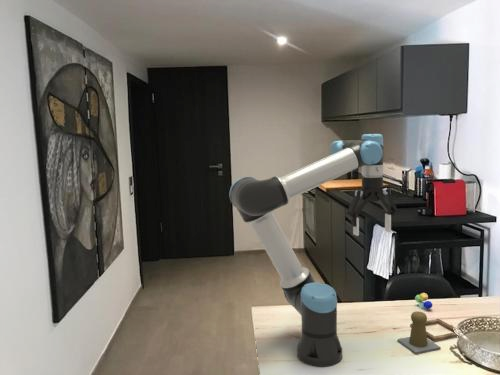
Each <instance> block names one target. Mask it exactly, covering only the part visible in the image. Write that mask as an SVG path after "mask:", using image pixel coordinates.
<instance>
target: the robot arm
mask: <svg viewBox="0 0 500 375" xmlns="http://www.w3.org/2000/svg"><path fill="white" fill-rule="evenodd" d="M358 168H361V176H362V177H361V188H362V189H361V190H357V189H356V190H354V192H353V197H352V199H351V203H350V205H349V206H348V209H347V211H346V215H345V216H348V217H350V220H351V224H350V225H351V226H352V234H353V236H356V237H358V236H359V235H360V218H359V217H358V216H359V215H360V213H361V212H362V211H363V209H364V208H365V206H366V205H367V204H369V203H373V202H375V203H376V202H377V203H379V205H381V207H382V209H383V210H384V211H385V212H386V213H385V214H384V231H385V232H387V233H391V232H392V223H394V222H393V218H394V216H395V214H396V213H398V212H399V210H398V208H397V206H396V204H395V201H394V199H393V196H392V194H391V189H390V188H387V187H384V177H383V175H384V137H383V135H382V134H380V133H368V134H367V133H364V134H362V135H361V139H357V140H355V139H354V140H350V139H348V140H346V139H345V140H342V139H341V140H335V141H332V143H331V145H330V148H329V155H327V156H325V157H324V158H321V159H318V160H317V161H314V162H312V163H310V164H308V165H305V166H303V167H301V168H297V170H293V171H292V172H290V173H287V174H284V175H283V176H281V177H280V176H276V175H275V176H272V177H270V178H268V179H264V180H263V179H261V180H259V179H256V178H255V177H251V176H243V177H240V178H238V179H236V180H235V181H234V182H233V183H232V184H231V186H230V189H229V193H228V194H229V196H228V197H229V200H230V203H231V204H232V205H233V207H234V208H236V210H237V211H238V213H239V215H240V217H241V219H242V220H243V222H244V223H246V224H250V225H251V227H252V229H253V231H254V232H255V234H256V236H257V238H258V240H259V241H260V243H261V245H262V246H263V248H264V251H265V252H266V254H267V255H268V257H269V259H270V261H271V263H272V265H273V267H274V269H276V271H277V273H278V275H279V277H280V282H279V285H280V287H281V290H282V291H283V294H284V298H285V300H286V301H287V303H288V304H290V305H291V306H292V307H293V308H294V309H295V311H297V313H299V315H300V316H301V317H300V318H301V334H300V337H299V339H298V342H297V343H298V344H297V347H296V356H297V359H299V360H300V361H301V362H303V363H304V364H306V365H309V366H313V367H329V366H334V365H336V364H338V363H340V361H342V359H343V348H342V345H341V341H340V339H339V336H338V331H337V330H338V328H337V327H338V323H337V322H338V318H337V317H338V314H337V313H338V298H337V297H338V296H337V293H336V290H335V289H334V287H332V286H330V285H329V284H326V283H325V284H324V282H318V281H317V282H316V281H315V279H314V277H313V276H312V273H311V272H310V270H309V269H308V268H307V267H304V266H302V264H301V263H300V260H299V259H298V256H297V255H296V253H295V250H293V247H292V245H291V244H290V241H289V239H288V238H287V236H286V235H285V233H284V231H283V229H282V227H281V225H280V224H279V222H278V220H277V217H275V215H274V212H273V211H275V210H277V209H279V208H282V207H284V206H286V205H288V204H289V202H290V201H291V199H293V198H296V197H298V196H300V195H303V194H305V193H306V192H309V191H311V190H313V189H315V188H318V187H320V186H322V185H325V183H328V182H331V181H333V180H335V179H337V178H339V177H342V176H343V175H346V174H348V173H350V172H352V171H354V170H356V169H358ZM383 187H384V188H383ZM382 195H384V197H383V196H382ZM384 198H385V199H384ZM385 200H386V201H385Z"/></svg>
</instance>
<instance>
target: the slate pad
mask: <svg viewBox="0 0 500 375" xmlns="http://www.w3.org/2000/svg"><path fill="white" fill-rule="evenodd" d="M396 339H397V342H398V343H399V344H400V345H401V346H403V347H404V348H406V349H407V350H409V351H410V352H411V353H413V354H414V355H420V354H425V353H430V352H434V351H440V350H442V349H441V346H439V345H438V344H437V343H435V342H433V341H431V340H430V339H428V338H427V342H428V345H427V346H426V347H415V346H413V345H411V344H410V343H409V340H410V336H407V337H403V338H402V337H401V338H396Z"/></svg>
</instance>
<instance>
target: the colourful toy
mask: <svg viewBox="0 0 500 375" xmlns="http://www.w3.org/2000/svg"><path fill="white" fill-rule="evenodd" d="M428 299H429V295H428V294H427V293H425V292H422V293H420V294H416V296H415V297H414V300H415V302H416V303H418V307H419V308H420V309H422V310H426V309H428V310H429V309H432V307H433V303H432V302H431V301H429V300H428Z"/></svg>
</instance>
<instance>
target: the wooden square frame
mask: <svg viewBox="0 0 500 375" xmlns="http://www.w3.org/2000/svg"><path fill="white" fill-rule="evenodd" d="M434 325H439V326H441V327H443V328H444V329H446V330H448V331H449V332H450V333H445V334H439V335H436V336H435V335H433V334H432V333H430V332H428V331H427V330H426V334H427V339H429V340H430V341H432V342H433V343H435V342H436V343H437V342H442V341H446V340H450V339H451V340H452V339H455V338H458V337H457V336H458V335H457V334H456V333H455V332H454V330H453V328H455V327H454V326H453V325H451V324H449V323H447V322H445V321H443V320H442V319H439V318H436V319H435V318H434V319H430V320H429V319H428V320H427V321H426V323H425V326H426V327H427V326H428V327H430V326H434ZM409 328H410V329H411V328H412V323H410V324H409Z"/></svg>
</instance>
